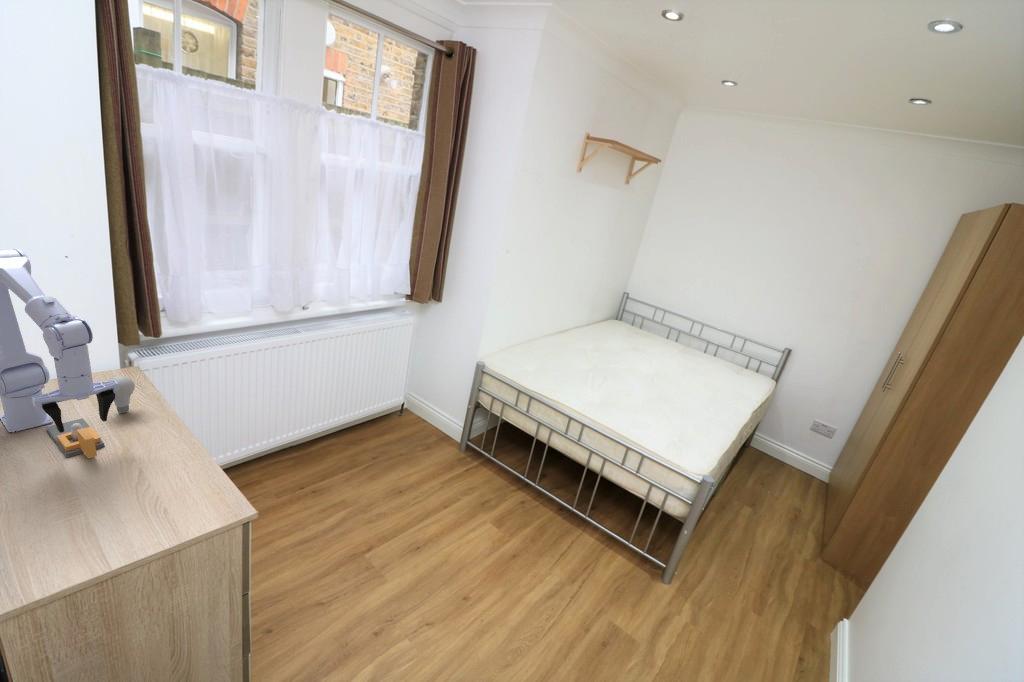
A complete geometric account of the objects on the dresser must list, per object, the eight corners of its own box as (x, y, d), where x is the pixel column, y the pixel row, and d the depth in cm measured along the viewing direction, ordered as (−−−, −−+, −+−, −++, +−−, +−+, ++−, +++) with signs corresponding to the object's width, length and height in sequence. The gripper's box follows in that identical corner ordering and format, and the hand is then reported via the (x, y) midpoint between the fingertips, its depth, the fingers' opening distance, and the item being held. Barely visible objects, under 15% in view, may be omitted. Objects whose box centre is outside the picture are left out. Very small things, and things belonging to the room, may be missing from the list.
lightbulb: (141, 413, 130) (137, 378, 127) (114, 420, 125) (109, 384, 122) (131, 405, 133) (127, 370, 129) (105, 412, 128) (99, 375, 124)
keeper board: (46, 430, 117) (43, 411, 116) (83, 421, 123) (80, 403, 121) (66, 457, 110) (63, 437, 108) (104, 446, 116) (101, 427, 114)
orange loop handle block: (57, 439, 114) (54, 422, 112) (91, 430, 119) (88, 413, 117) (74, 462, 108) (71, 443, 106) (109, 451, 113) (107, 434, 111)
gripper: (34, 388, 97) (45, 443, 102) (121, 371, 109) (127, 421, 113) (24, 375, 101) (36, 429, 105) (109, 360, 112) (116, 410, 117)
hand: (82, 424), depth 110 cm, fingers open, 7 cm apart
